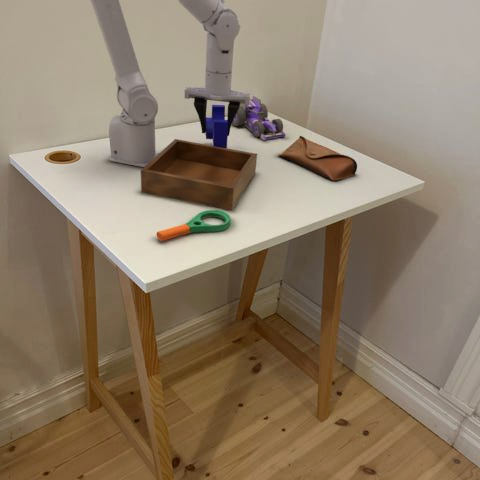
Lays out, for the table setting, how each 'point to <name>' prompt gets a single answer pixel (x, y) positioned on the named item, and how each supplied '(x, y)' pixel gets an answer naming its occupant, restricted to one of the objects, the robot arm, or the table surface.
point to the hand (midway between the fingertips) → (215, 133)
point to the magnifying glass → (196, 225)
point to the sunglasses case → (320, 159)
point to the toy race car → (258, 120)
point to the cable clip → (217, 126)
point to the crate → (199, 174)
